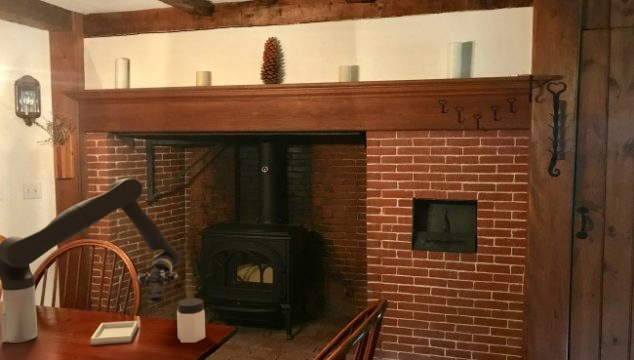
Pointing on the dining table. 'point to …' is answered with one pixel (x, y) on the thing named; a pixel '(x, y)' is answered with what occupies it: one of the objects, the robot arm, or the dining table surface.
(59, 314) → the dining table surface
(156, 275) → the salt shaker
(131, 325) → the tray
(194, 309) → the jar
